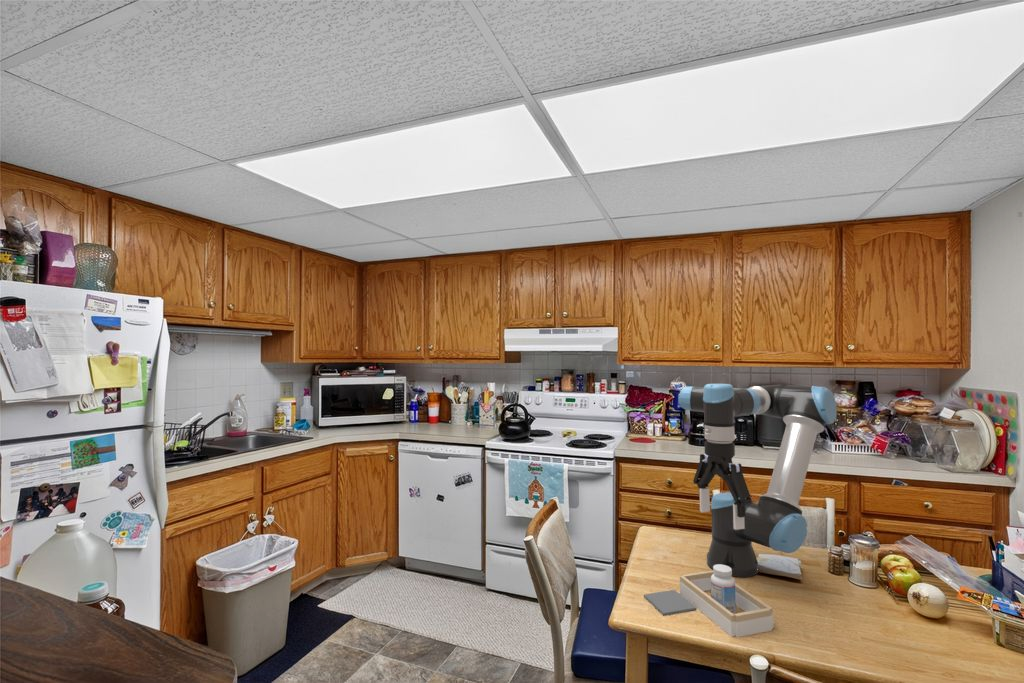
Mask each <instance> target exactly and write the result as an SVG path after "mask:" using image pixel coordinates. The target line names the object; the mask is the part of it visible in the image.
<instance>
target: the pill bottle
mask: <svg viewBox="0 0 1024 683" xmlns="http://www.w3.org/2000/svg"><path fill="white" fill-rule="evenodd" d="M712 571H713V573H714V574H713V575H712V576H711V590H710V597H712V598H713V599H714V600H716V601H717V602H718V603H719V604H721V605H722V606H723V607H725V608H726V609H727V610H729V611H730V612H731V613H733V614H736V613H737V605H736V595H735V584H736V581H735V579H734V578H735V577H734V576H732V569H731V568H730V567H729V566H726V565H722V564H717V565H714V566H713V569H712Z"/></svg>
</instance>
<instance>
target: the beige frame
mask: <svg viewBox="0 0 1024 683" xmlns="http://www.w3.org/2000/svg"><path fill="white" fill-rule="evenodd" d="M713 574H714V573H713V570H707V571H700V572H693V573H687V574H682V575H680V576H679V594H680V595H682V596H683V597H684V598H685V599H686V600H688V601H689V602H690V603H691V604H692V605H694V606H695V607H696V609H697V610H698V611H700V612H701V613H702V614H704V615H705V616H706V617H707V618H709V620H711V621H712V622H713V623H714V624H716V625H717V626H718V627H719V628H720V629H722V630H723V631H724V632H725V633H726V634H727V635H729V636H730V637H736V638H741V637H745V636H752V635H755V634H761V633H766V632H771V631H772V630H773V629H774V610H773V609H774V608H773V607H771V606H770V605H769V604H767V603H765V602H764V601H763V600H761V599H759V598H758V597H757V596H756V595H754V594H752V593H750V592H749V591H747V590H746V589H744V588H743V587H742V586H740V585H739V584H737V583H735V595H736V607H738V608H740V609H741V610H742V611H743V612H738V613H737V612H736V613H735V614H733V613H731V612H730V611H729V610H727V609H726V608H725V607H723V606H722V605H721V604H719V603H718V602H717V601H716V600H714V599H713V598H712V597H711V595H709V594H708V593H706V591H707V592H708V591H711V576H712V575H713Z"/></svg>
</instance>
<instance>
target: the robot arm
mask: <svg viewBox="0 0 1024 683" xmlns="http://www.w3.org/2000/svg"><path fill="white" fill-rule="evenodd" d="M678 396H679V397H678V401H679V405H680V407H681V408H682V409H684V410H686V411H690V412H699V413H703V414H704V415H703V417H704V420H703V426H704V439H705V441H704V453H700V455H699V462H698V465H697V468H696V472H695V475H694V477H693V482H692V483H693V484H694V485H696V486H697V487H698V497H699V498H698V499H699V512H700V513H708V512H709V513H711V542H710V545H709V549H708V552H707V554H706V564H707V566H708V567H709V568H710V569H711V570H713V566H714V565H717V564H722V565H726V566H729V567H730V568H731V569H732V577H734V578H735V577H736V578H748V577H753V576H756V575H757V574H759V571H758V570H759V562H758V559H757V555H756V554H755V550H754V547H753V544H752V543H755V544H757V545H759V546H764V547H766V548H770V549H771V550H773V551H776V552H777V551H778V552H781V553H785V554H793V553H794V552H797V551H798V550H799V549H800V548H801V547H802V546H803V543H805V540H806V537H807V534H808V522H807V519H806V518H805V517H804V516H803V509H802V508H801V507H800V505H799V502H800V499H801V495H802V491H803V488H804V483H805V480H806V477H807V472H808V469H809V465H810V462H811V458H812V455H813V450H814V446H815V442H816V439H817V435H818V434H820V433H823V432H824V430H825V427H826V425H832V424H834V423H835V421H836V420H837V402H836V399H835V396H834V394H833V392H832V391H831V390H830V389H829V388H827V387H825V386H816V385H812V386H811V385H797V384H796V385H795V384H794V385H792V384H771V385H770V384H769V385H761V386H759V385H758V386H757V385H754V386H750V387H748V388H738V387H737V388H735V387H734V386H733V385H732V384H730V383H707V384H705V385H704V386H694V385H693V386H690V385H689V386H684V387H683V388H682V389H681V390H680V392H679V394H678ZM750 415H762V416H768V417H772V418H777V419H781V420H782V421H783V422H784V424H785V425H786V426H785V429H784V433H783V435H782V439H781V443H780V447H779V450H778V453H777V457H776V460H775V464H774V467H773V471H772V474H771V478H770V482H769V484H768V488H767V492H766V493H764V494H761V495H759V498H758V501H757V502H753V501H752V497H751V494H750V491H749V488H748V485H747V483H746V479H745V477H744V473H743V467H742V463H734V462H733V460H732V459H733V457H735V455H736V449H735V448H736V445H735V444H736V443H735V442H734V441H735V439H736V436H735V433H736V432H735V418H736V417H744V416H746V417H747V416H750ZM715 476H718V477H720V478H721V479H722V480H723V481H724V482H725V484H726V486H727V488H728V490H729V492H726V491H725V492H720V493H716V494H714V495H713V496H712V497H711V496H710V495H711V494H710V488H709V487H710V483H711V482H712V480H713V479H714V477H715ZM710 497H711V498H710ZM710 499H711V503H710ZM757 569H758V570H757Z"/></svg>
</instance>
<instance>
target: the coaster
mask: <svg viewBox="0 0 1024 683" xmlns="http://www.w3.org/2000/svg"><path fill="white" fill-rule="evenodd" d="M643 598H644V599H645V600H646V601H647V602H649V603H650V604H651V605H652V606H653V607H654V608H655V609H656V610H657V611H658V612H659V613H660V614H661V615H662V616H670V615H675V614H680V613H686V612H687V613H688V612H691V611H692V612H693V611H697V608H696V607H695V606H694V605H693V604H692V603H690V602H689V601H688V600H687V599H686V598H684V597H683V596H682V595H681V594H680V592H678V591H677V590H676V589H669V590H664V591H663V590H662V591H658V592H657V591H656V592H652V593H645V594H643Z"/></svg>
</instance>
